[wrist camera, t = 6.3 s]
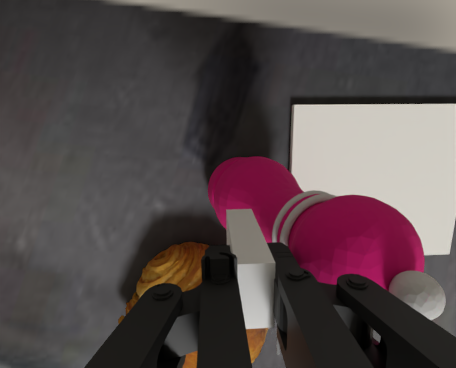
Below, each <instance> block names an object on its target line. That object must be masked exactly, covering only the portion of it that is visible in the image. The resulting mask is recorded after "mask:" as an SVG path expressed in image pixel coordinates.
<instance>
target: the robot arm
mask: <svg viewBox="0 0 456 368" xmlns="http://www.w3.org/2000/svg"><path fill="white" fill-rule="evenodd" d="M226 227H227V245H216V246H209V247H208V248H207V249H206V250H205V255H204V256H203V257H202V259H201V272H202V283H201V284H200V285H199V286H197V287H195V288H194V289H191V290H188V291H184V292H182V290H181V287H179V286H178V285H176V284H172V283H161V284H157V285H155V286H152V287H150V288H149V289H148V290H146V291H145V292H144V294H143V295H142V296H141V297H140V299H139V300H138V301H137V302H136V304H135V305H134V306H133V307H132V309H131V310H130V311H129V312H128V314H127V315H126V316H125V317H124V319H123V320H122V321H121V322H120V324H119V325H118V326H117V327H116V329H115V330H114V331H113V332H112V334H111V335H110V336H109V337H108V339H107V340H106V341H105V342H104V344H103V345H102V346H101V347H100V349H99V350H98V351H97V352H96V354H95V355H94V356H93V357H92V359H91V360H90V361H89V362H88V364H87V365H86V366H85V367H84V368H183V365H184V363H185V359H186V354H189V353H192V352H195V351H197V367H196V368H252V363H251V357H250V351H249V345H248V339H247V333H246V329H257V328H274V316H275V319H276V322H277V355H280V349H281V352H282V355H283V359H284V362H285V366H286V368H456V337H455V336H453V335H452V334H450V333H449V332H447V331H446V330H444V329H443V328H441V327H440V326H438V325H437V324H435V323H434V322H433V321H431V320H430V319H428V318H427V317H425V316H424V315H422V314H421V313H419V312H418V311H416V310H415V309H413V308H412V307H411V306H409V305H408V304H406V303H405V302H403V301H402V300H400V299H399V298H397V297H396V296H394V295H393V294H391V293H390V292H389V291H387V290H386V289H384V288H383V287H381V286H380V285H378V284H377V283H375V282H374V281H372V280H371V279H369V278H367V277H364V276H361V275H359V274H343V275H341V276H339V277H338V278H337V285H334V284H327V283H321V282H318V281H317V280H316V278H315V277H314V275H313V274H312V273H311V272H310V271H308V270H306V269H303V268H300V266H299V264H298V263H297V261H296V259H295V258H294V256H293V254H292V253H291V251H290V249H289V248H288V246H286V245H285V244H283V243H281V242H273V243H266V240H265V238H264V236H263V234H262V231H261V229H260V227H259V225H258V222H257V220H256V218H255V216H254V213H253V211H252V209H232V210H226ZM373 329H374V330H375V331H376V332H377V333H378V334H379V335H380V336H381V340H380V343H379V342H378V341H376V340H375V339H374V338H373Z"/></svg>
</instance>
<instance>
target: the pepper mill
mask: <svg viewBox="0 0 456 368" xmlns="http://www.w3.org/2000/svg"><path fill="white" fill-rule="evenodd" d="M208 197H209V200H210V203H211V205H212V206H213V208H214V209H215V212H216V215H217V217H218V219H219V221H220V223H221V224H222V225H223V227H224V228H225V229H226V230H227V227H226V210H232V209H252V211H253V213H254V216H255V218H256V220H257V222H258V225H259V227H260V229H261V231H262V234H263V236H264V238H265V240H266V242H267V243H273V242H281V243H283V244H285V245H286V246H288V248H289V249H290V251H291V253H292V254H293V256H294V258H295V259H296V261H297V263H298V264H299V266H300V268H303V269H306V270H308V271H310V272H311V273H312V274H313V275H314V277H315V278H316V280H317V281H318V282H321V283H327V284H334V285H337V278H338V277H339V276H341V275H343V274H359V275H361V276H364V277H367V278H369V279H371V280H372V281H374V282H375V283H377V284H378V285H380V286H381V287H383V288H384V289H386V290H387V291H389V292H390V293H391V294H393V295H394V296H396V297H397V298H399V299H400V300H402V301H403V302H405V303H406V304H408V305H409V306H411V307H412V308H413V309H415V310H416V311H418V312H419V313H421V314H422V315H424V316H425V317H427V318H428V319H430V320H433V319H435V318H437V317H439V315H440V314H441V313H442V312H443V310H444V307H445V304H446V302H445V294H444V291H443V289H442V288H441V286H440V285H439V284H438V282H437V281H436V280H435V279H433V278H432V277H431V276H429V275H428V274H425V273H423V272H424V251H423V246H422V243H421V239H420V237H419V235H418V234H417V232H416V230H415V228H414V226H413V225H412V223H411V222H410V221H409V220H408V219H407V218H406V217H405V216H404V215H403V214H401V213H400V212H399V211H398V210H397V209H395V208H394V207H392V206H390V205H388V204H386V203H384V202H382V201H380V200H377V199H375V198H372V197H368V196H362V195H354V194H352V195H344V196H335V195H331V194H329V193H327V192H323V191H316V190H312V191H307V192H304V191H303V190H302V189H301V188H300V187H299V185H298V183H297V181H296V179H295V177H294V176H293V175H292V174H291V173H290V172H289V171H288V170H287V169H286V168H285V167H284V166H283V165H281V164H279V163H278V162H276V161H274V160H271V159H269V158H266V157H260V156H253V157H247V158H245V157H235V158H231V159H228V160H226V161H224V162H223V163H221V164H220V165H219V166H218V167H217V168H216V169H215V171H214V172H213V173H212V175H211V177H210V180H209V184H208Z"/></svg>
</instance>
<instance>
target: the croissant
mask: <svg viewBox="0 0 456 368" xmlns="http://www.w3.org/2000/svg"><path fill="white" fill-rule="evenodd" d="M208 247H209V245H207V244H202V243H195V242H185V243H182V244H179V245H177V244H175V245H172V246H170V247H169V248H168V249H167V250H165V251H162V252H160V253H159V254H158V255H156V256H155V257H154V258H153V259H152V260H151V261H149V262H148V264H147V266H146V267H144V268H143V270H142V271H143V272H142V276H141V277H140V279H139V281H138V283H137V289H136V292H135V293H134V294H133V297H132V299H131V300H130V302H128V303H126V304H127V307H126V308H125V309H126V315H127V314H128V312H129V311H130V310H131V309H132V307H133V306H134V305H135V304H136V302H137V301H138V300H139V299H140V297H141V296H142V295H143V294H144V292H145V291H146V290H148V289H149V288H150V287H152V286H155V285H157V284H161V283H172V284H176V285H178V286H179V287H181V290H182V292H184V291H188V290H191V289H194V288H195V287H197V286H199V285H200V284H201V283H202V272H201V259H202V257H203V256H204V255H205V250H206V249H207V248H208ZM123 319H124V316H121V317H120V318H119V320H118V323H119V324H120V322H121V321H122V320H123ZM267 330H268V328H257V329H246V333H247V339H248V345H249V351H250V357H251V363H253V362H254V360H255V358H256V357H257V356H258V355H259V353H260V352H261V348H262V346H263V344H264V341H265V336H266V333H267ZM196 367H197V351H195V352H192V353H189V354H186V359H185V363H184V365H183V368H196Z"/></svg>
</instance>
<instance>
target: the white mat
mask: <svg viewBox="0 0 456 368" xmlns="http://www.w3.org/2000/svg"><path fill="white" fill-rule="evenodd" d="M289 172H290V173H291V174H292V175H293V176H294V177H295V179H296V181H297V183H298V185H299V187H300V188H301V189H302V190H303V191H304V192H307V191H312V190H316V191H323V192H327V193H329V194H331V195H335V196H344V195H352V194H354V195H362V196H368V197H372V198H375V199H377V200H380V201H382V202H384V203H386V204H388V205H390V206H392V207H394V208H395V209H397V210H398V211H399V212H400V213H401V214H403V215H404V216H405V217H406V218H407V219H408V220H409V221H410V222H411V223H412V225H413V226H414V228H415V230H416V232H417V234H418V235H419V237H420V239H421V243H422V246H423V251H424V255H442V254H449V253H450V247H451V241H452V236H453V230H454V224H455V218H456V104H334V105H292V116H291V142H290V169H289Z"/></svg>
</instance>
